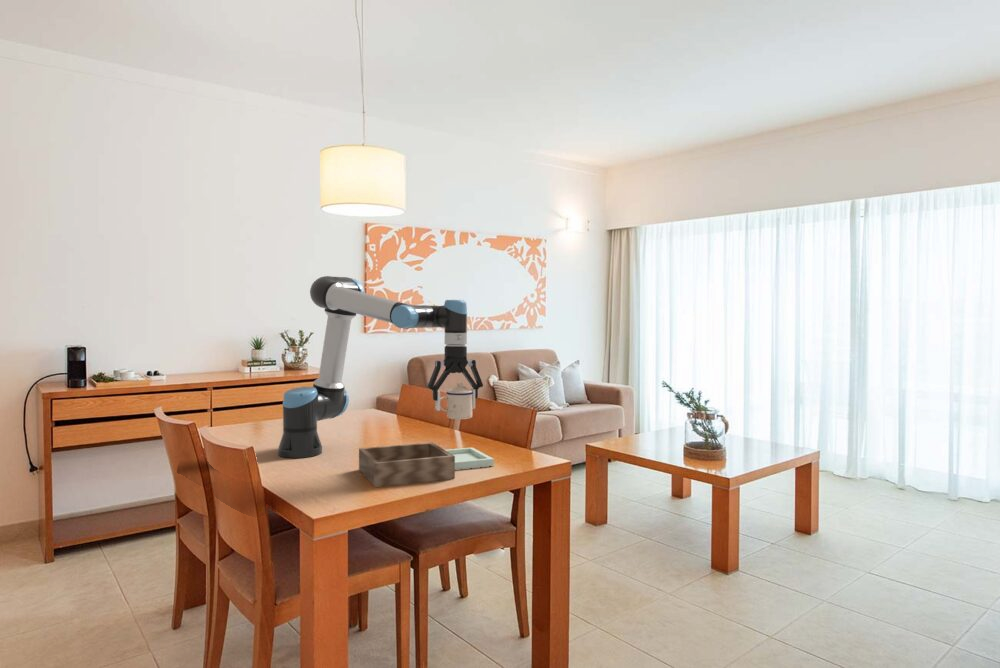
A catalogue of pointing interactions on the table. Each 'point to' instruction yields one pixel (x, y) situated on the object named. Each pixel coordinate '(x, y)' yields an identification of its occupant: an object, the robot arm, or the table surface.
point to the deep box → (406, 464)
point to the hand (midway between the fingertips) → (455, 409)
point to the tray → (470, 458)
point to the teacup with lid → (458, 402)
